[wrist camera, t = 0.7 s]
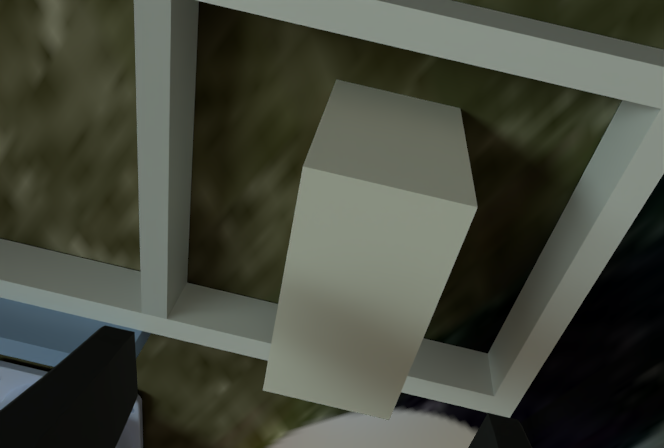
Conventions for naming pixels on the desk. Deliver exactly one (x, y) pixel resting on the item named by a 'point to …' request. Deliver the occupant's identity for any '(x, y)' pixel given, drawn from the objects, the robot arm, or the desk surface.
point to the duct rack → (259, 316)
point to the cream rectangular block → (369, 247)
